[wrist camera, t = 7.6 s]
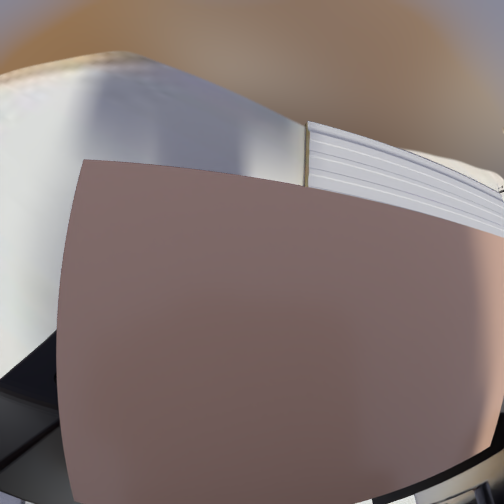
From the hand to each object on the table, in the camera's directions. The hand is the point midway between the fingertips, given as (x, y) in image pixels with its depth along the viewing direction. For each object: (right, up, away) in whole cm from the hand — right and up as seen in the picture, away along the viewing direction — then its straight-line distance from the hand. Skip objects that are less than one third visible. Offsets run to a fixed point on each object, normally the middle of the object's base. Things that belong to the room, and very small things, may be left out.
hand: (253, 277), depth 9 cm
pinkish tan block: (-1, -2, +6) cm, 7 cm away
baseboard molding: (+19, +6, +20) cm, 28 cm away
